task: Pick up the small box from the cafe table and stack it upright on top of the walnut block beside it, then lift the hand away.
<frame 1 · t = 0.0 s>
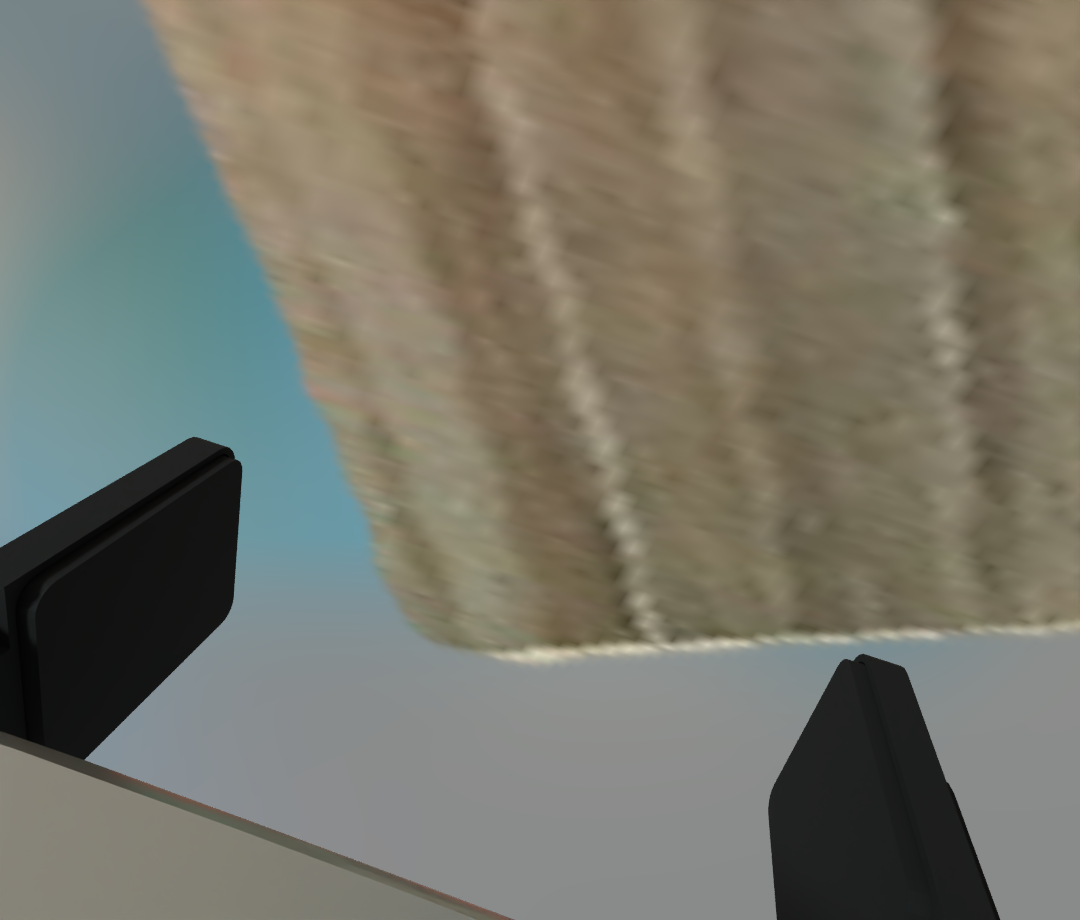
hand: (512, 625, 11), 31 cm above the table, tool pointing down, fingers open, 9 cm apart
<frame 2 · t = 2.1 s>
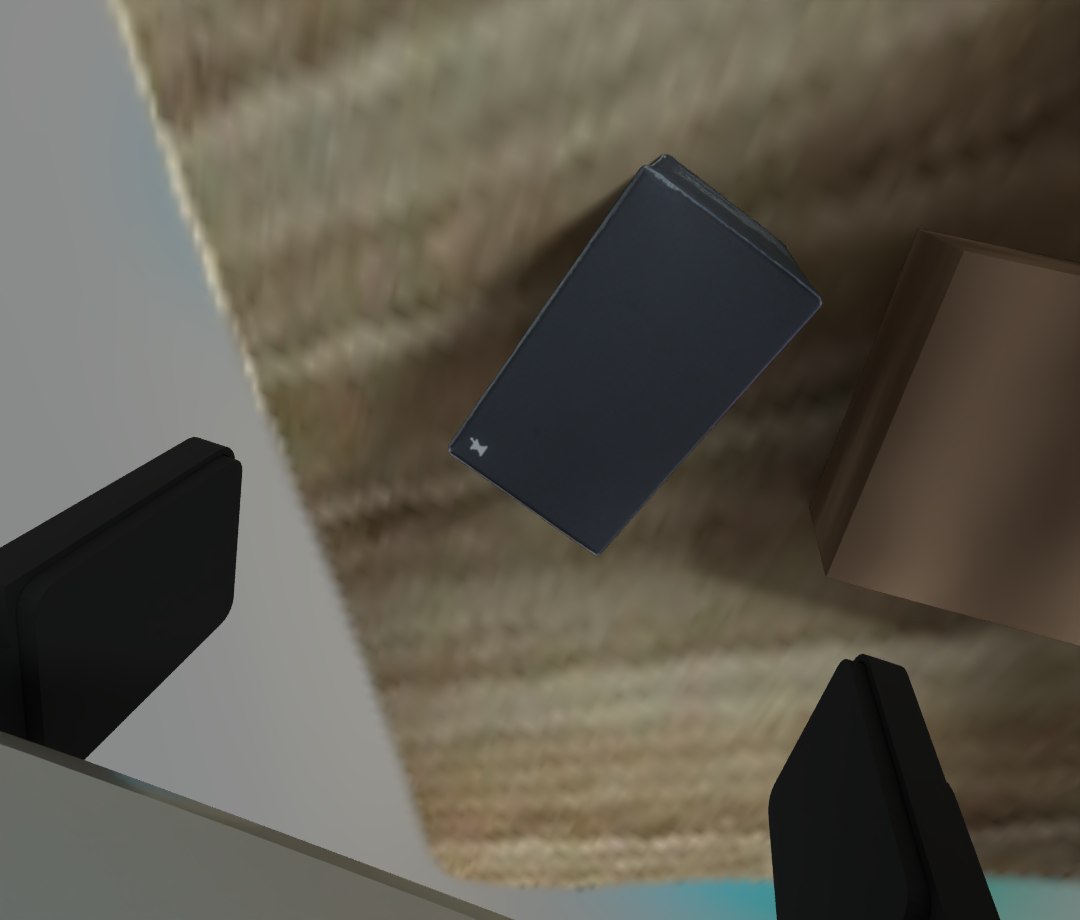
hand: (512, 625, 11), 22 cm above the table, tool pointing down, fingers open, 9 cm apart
walnut block: (1010, 414, 30), on the table
small box: (646, 308, 31), on the table
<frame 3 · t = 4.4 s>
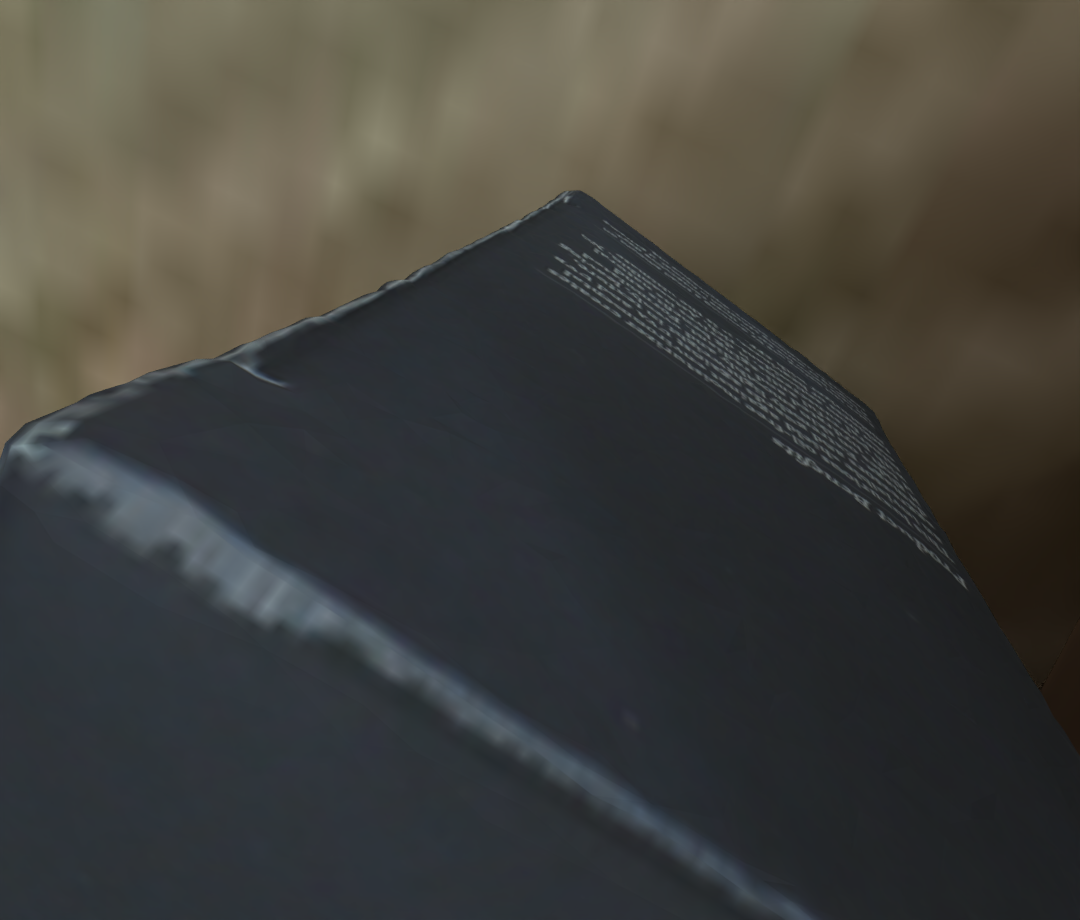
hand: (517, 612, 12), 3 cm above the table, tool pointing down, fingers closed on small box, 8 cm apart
small box: (552, 524, 14), on the table, touching gripper
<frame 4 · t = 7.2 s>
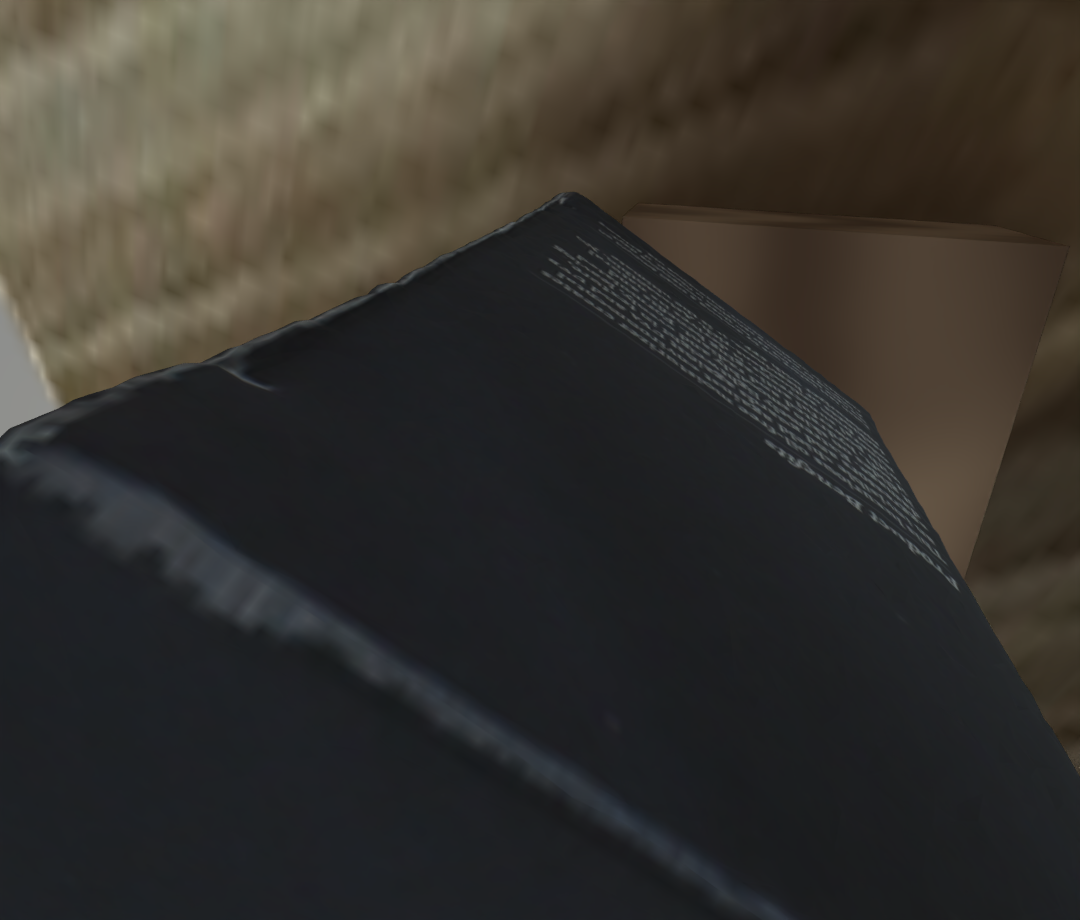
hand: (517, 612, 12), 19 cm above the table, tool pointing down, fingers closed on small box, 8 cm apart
walnut block: (779, 376, 29), on the table
small box: (549, 525, 14), point 16 cm above the table, touching gripper
when the fingers open (10 cm above the table, at t = 10.1 s): small box drops 2 cm, resting on walnut block.
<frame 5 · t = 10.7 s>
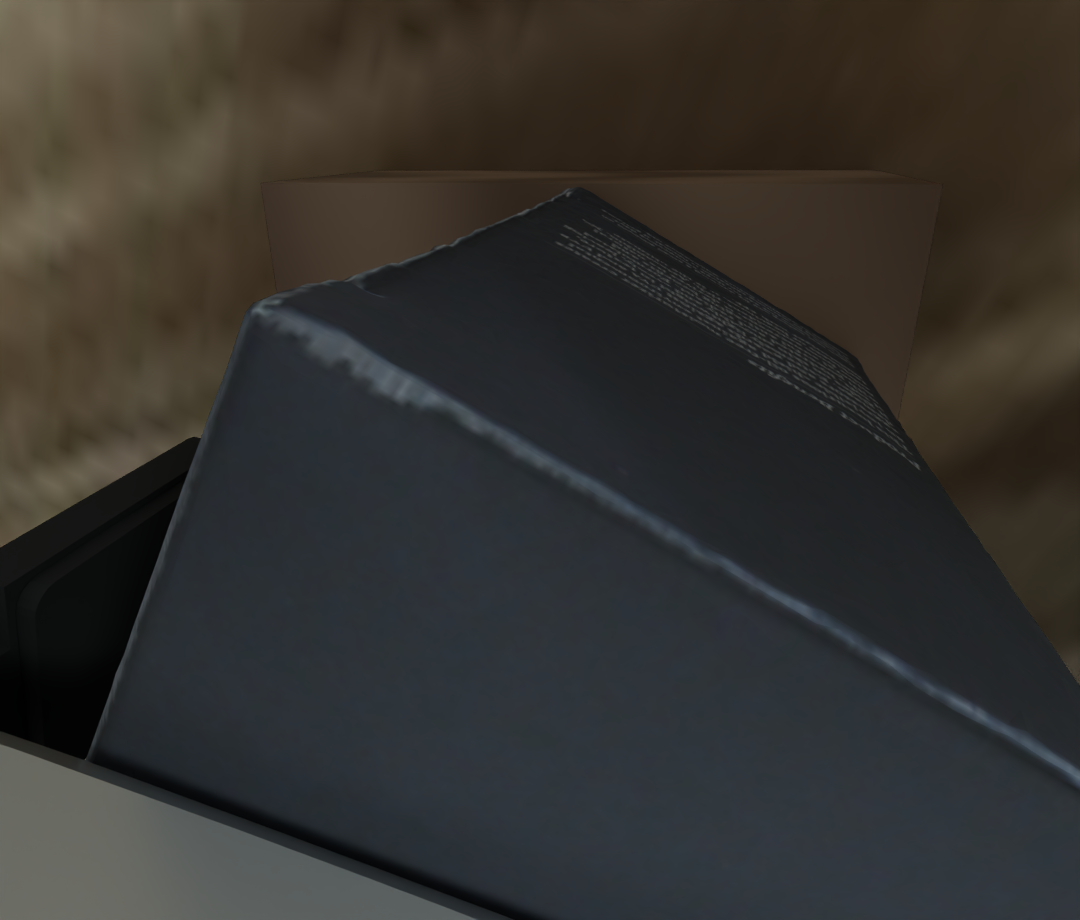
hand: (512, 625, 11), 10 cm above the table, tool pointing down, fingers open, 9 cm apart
walnut block: (606, 400, 21), on the table, touching small box
small box: (580, 490, 16), point 5 cm above the table, touching walnut block
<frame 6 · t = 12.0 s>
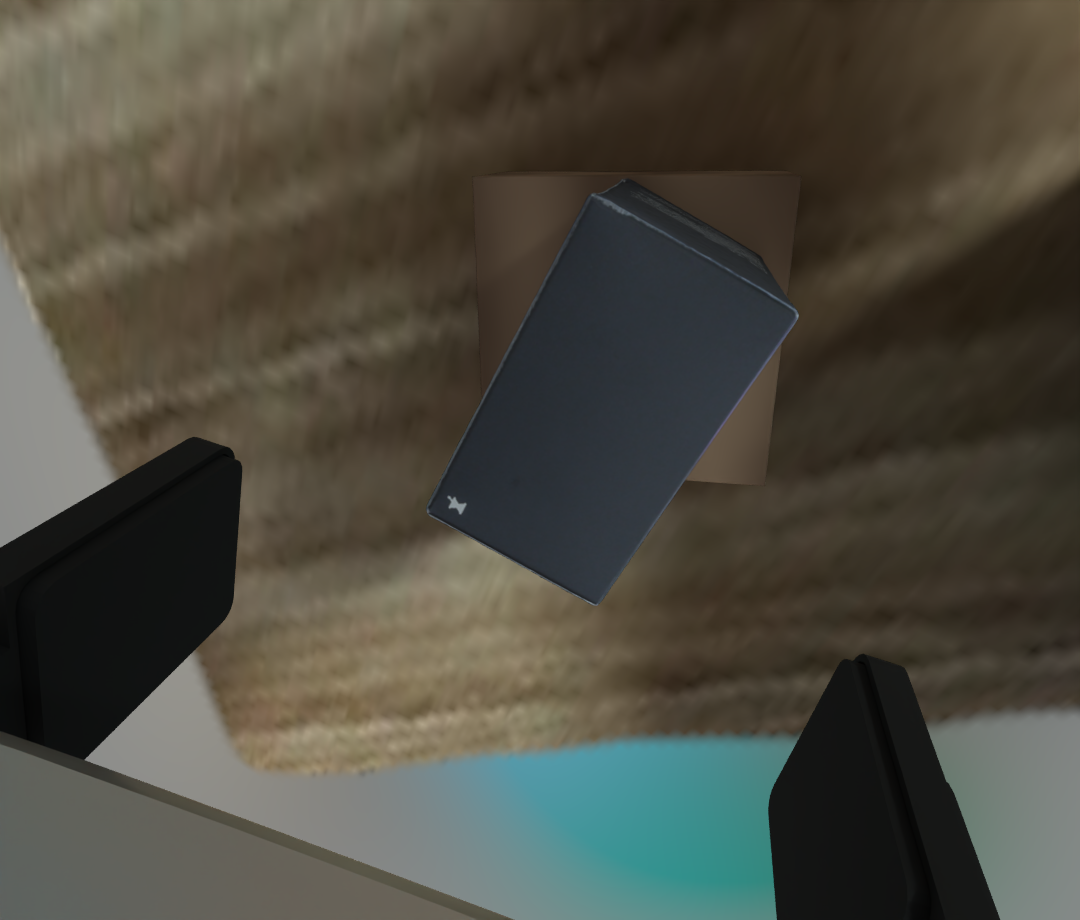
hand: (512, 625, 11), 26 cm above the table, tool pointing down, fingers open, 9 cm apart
walnut block: (636, 307, 35), on the table, touching small box
small box: (626, 337, 30), point 5 cm above the table, touching walnut block
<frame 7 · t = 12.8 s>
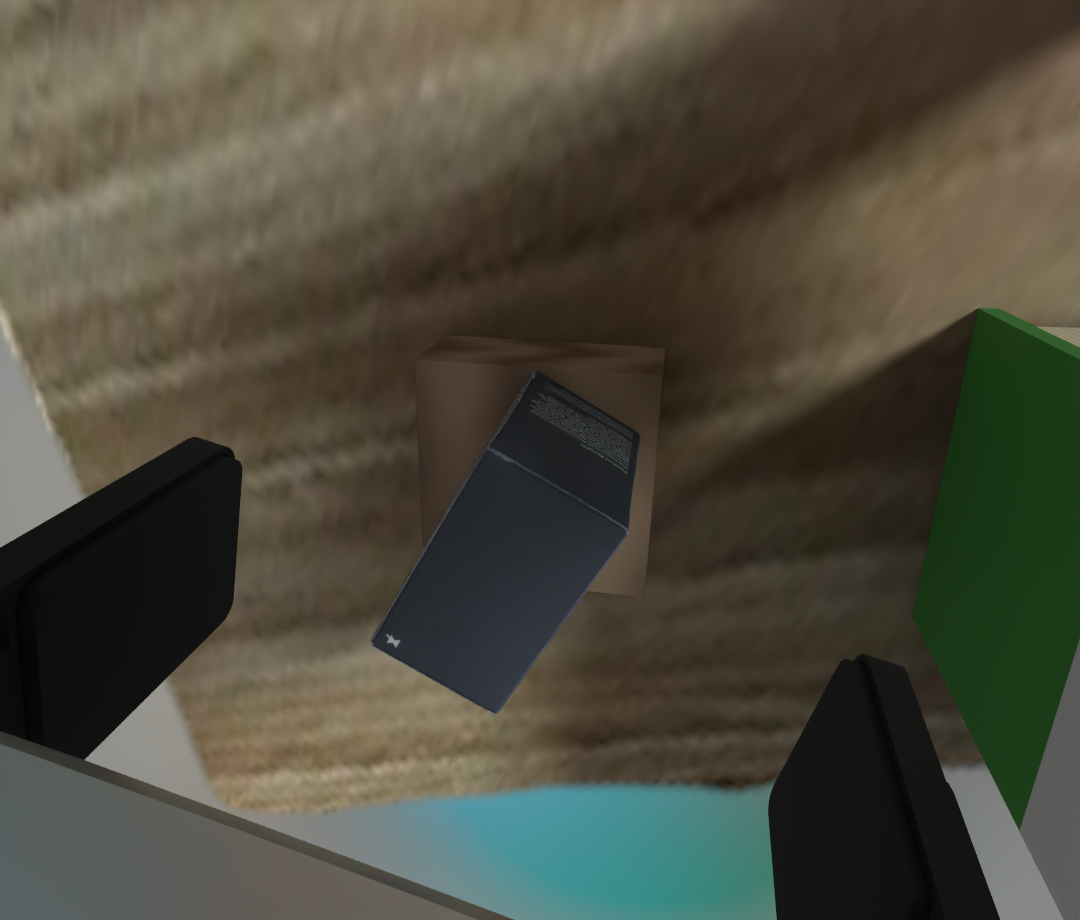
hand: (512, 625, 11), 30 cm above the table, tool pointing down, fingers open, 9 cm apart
walnut block: (552, 441, 43), on the table, touching small box
small box: (538, 483, 38), point 5 cm above the table, touching walnut block
hardback book: (1017, 478, 39), on the table
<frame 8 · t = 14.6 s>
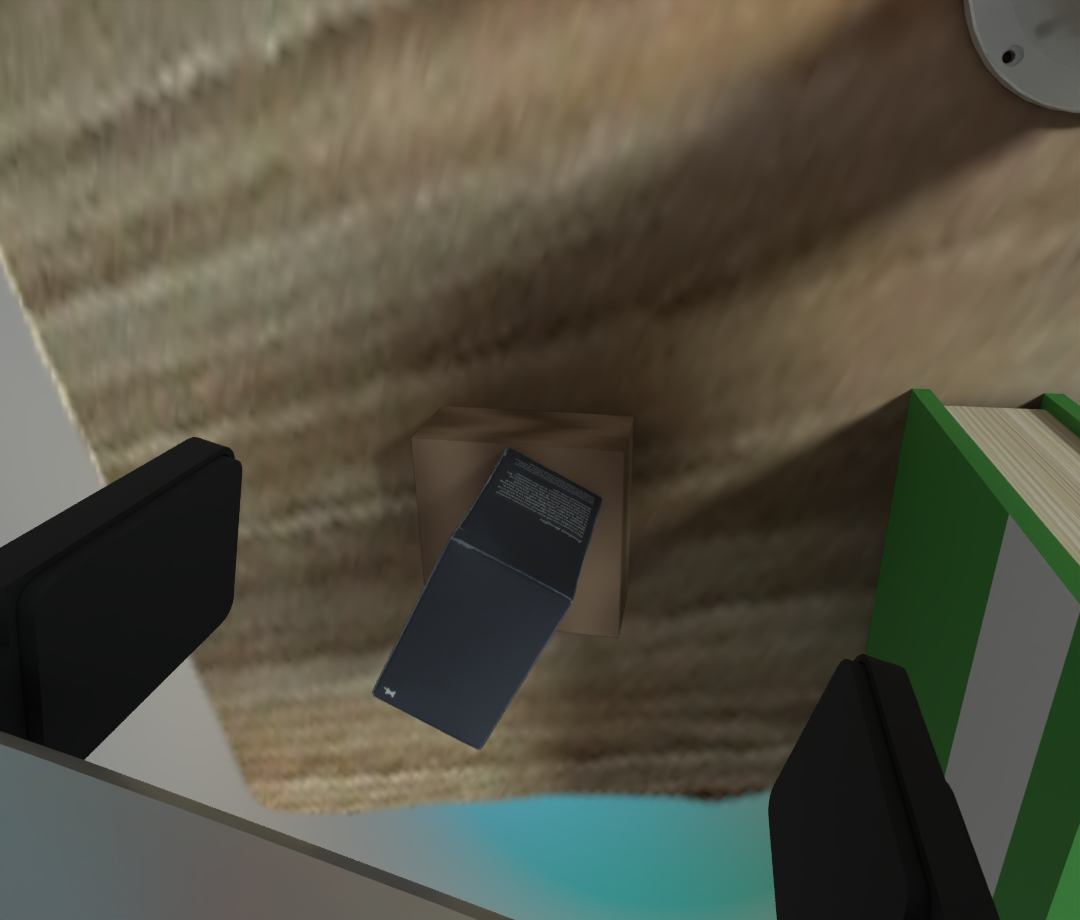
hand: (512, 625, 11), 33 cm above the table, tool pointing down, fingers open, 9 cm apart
walnut block: (539, 496, 49), on the table, touching small box
small box: (519, 540, 44), point 5 cm above the table, touching walnut block
hardback book: (953, 534, 44), on the table
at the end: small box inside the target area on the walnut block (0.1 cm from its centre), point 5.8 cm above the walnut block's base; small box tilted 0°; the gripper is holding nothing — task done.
